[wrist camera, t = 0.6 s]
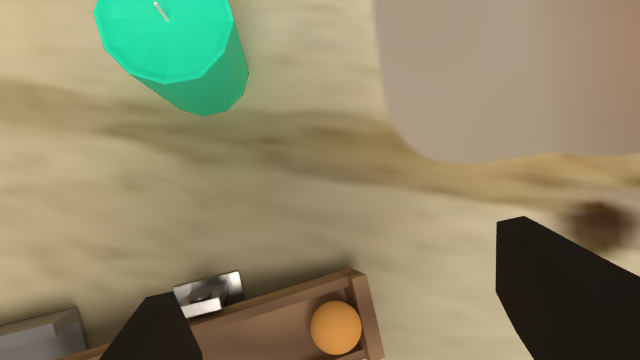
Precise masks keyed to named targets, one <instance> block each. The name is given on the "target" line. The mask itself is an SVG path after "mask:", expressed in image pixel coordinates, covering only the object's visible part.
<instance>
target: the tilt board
mask: <svg viewBox="0 0 640 360" xmlns="http://www.w3.org/2000/svg"><path fill="white" fill-rule="evenodd" d="M330 301H342V302H345V303H347V304H349V305H350V306H352V307H353V308H354V309H355V311H356V312H357V313H358V315H359V317H360V320H361V325H362V330H361V336H360V339H359V341H358V343H357V344H356V345H355V347H354V348H353V349H351V350H350V351H348V352H347V353H344V354H340V355H333V354H328V353H326V352H324V351H322V350H321V349H320V348H319V347H318V346H317V345H316V344H315V342H314V341H313V339H312V336H311V331H310V324H311V319H312V316H313V314H314V313H315V311H316V310H317V309H318V308H319V307H320V306H321V305H323V304H324V303H327V302H330ZM187 322H188V324H189V326H190V328H191V330H192V332H193V335H194V337H195V339H196V341H197V343H198V345H199V347H200V350H201V352H202V354H203V360H362V359H365V358H366V359H367V360H378V359H381V358H383V357H385V355H384V351H383V346H382V342H381V337H380V333H379V329H378V324H377V320H376V316H375V311H374V307H373V302H372V298H371V294H370V289H369V285H368V280H367V276H366V274H364V273H361V272H359V271H356V270H353V269H351V268H348V269H345V270H342V271H339V272H336V273H332V274H329V275H326V276H323V277H320V278H316V279H313V280H310V281H307V282H303V283H300V284H297V285H294V286H291V287H287V288H284V289H281V290H278V291H275V292H271V293H268V294H265V295H262V296H258V297H255V298H252V299H249V300H246V301H242V302H239V303H236V304H233V305H230V306H226V307H223V308H221V309H220V310H216V311H212V312H208V313H204V314H201V315H197V316H194V317H191V318H188V319H187ZM111 343H112V342H111ZM111 343H107V344H104V345H101V346H98V347H95V348H91V349H88V350H85V351H82V352H78V353H75V354H72V355H69V356H66V357H62V358H59V359H56V360H99V358H100V357H101V356H102V355H103V353H104V352H105V351H106V349H107V348H108V347H109V345H110V344H111Z"/></svg>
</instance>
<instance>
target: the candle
mask: <svg viewBox="0 0 640 360" xmlns="http://www.w3.org/2000/svg"><path fill="white" fill-rule="evenodd" d="M93 14H94V17H95V21H96V24H97V27H98V30H99V34H100V37H101V40H102V43H103V47H104V49H105V50H106V51H107V52H108V53H109V54H110V55H111V56H112V57H113V58H114V59H115V60H116V61H117V62H118V63H119V64H120V65H121V66H122V67H123V68H124V69H125V70H126V71H127V72H128V73H129V74H130V75H132V76H133V77H134V78H136V79H137V80H139V81H140V82H142V83H143V84H145V85H146V86H148V87H149V88H150V89H152V90H153V91H155V92H156V93H158V94H159V95H161V96H162V97H163V98H165V99H166V100H168V101H169V102H171V103H172V104H174V105H175V106H176V107H178V108H179V109H181V110H184V111H187V112H191V113H194V114H198V115H201V116H207V115H211V114H215V113H219V112H223V111H227V110H228V109H229V108H230V107H231V106H232V105H233V104H234V103H235V102H236V101H237V100H238V99H239V98H240V97H241V96H242V95H243V92H244V88H245V85H246V81H247V78H248V74H249V72H248V68H247V64H246V61H245V57H244V53H243V49H242V46H241V42H240V39H239V35H238V32H237V28H236V25H235V21H234V18H233V14H232V11H231V7H230V4H229V0H98V1H97V4H96V6H95V9H94V12H93Z"/></svg>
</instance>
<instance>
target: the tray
mask: <svg viewBox="0 0 640 360" xmlns="http://www.w3.org/2000/svg"><path fill="white" fill-rule="evenodd" d="M85 350H88V348H87V343H86V339H85V335H84V331H83V327H82V323H81V319H80V315H79V311H78V307H77V308H72V309H68V310H64V311H60V312H56V313H52V314H48V315H44V316H40V317H36V318H32V319H28V320H24V321H19V322H15V323H11V324H7V325H3V326H0V360H56V359H59V358H62V357H66V356H69V355H72V354H75V353H78V352H82V351H85Z"/></svg>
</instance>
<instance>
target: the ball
mask: <svg viewBox="0 0 640 360" xmlns="http://www.w3.org/2000/svg"><path fill="white" fill-rule="evenodd" d="M361 330H362V325H361V320H360V317H359V315H358V313H357V312H356V311H355V309H354V308H353V307H352V306H350V305H349V304H347V303H345V302H342V301H330V302H327V303H324V304H323V305H321V306H320V307H319V308H318V309H317V310H316V311H315V313H314V314H313V316H312V319H311V324H310V331H311V336H312V339H313V341H314V342H315V344H316V345H317V346H318V347H319V348H320V349H321V350H322V351H324V352H326V353H328V354H333V355H340V354H344V353H347V352H348V351H350V350H351V349H353V348H354V347H355V345H356V344H357V343H358V341H359V339H360V336H361Z"/></svg>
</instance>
